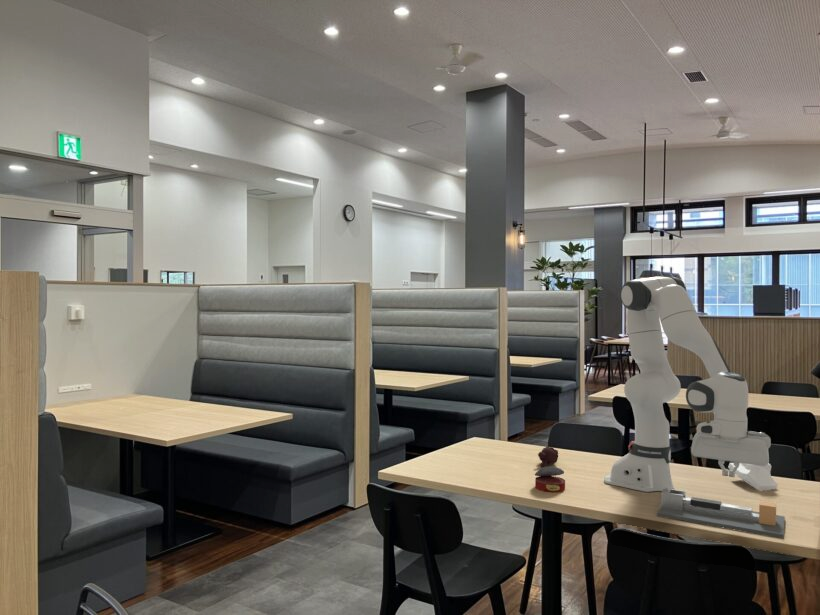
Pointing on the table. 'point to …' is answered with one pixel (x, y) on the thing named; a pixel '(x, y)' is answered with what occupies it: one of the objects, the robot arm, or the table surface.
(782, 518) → the mat
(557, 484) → the canned food
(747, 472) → the white angular chunk
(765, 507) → the light orange block
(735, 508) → the tongs arm
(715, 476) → the table surface
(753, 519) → the grey long bar
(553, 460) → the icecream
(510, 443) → the table surface
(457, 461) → the table surface
